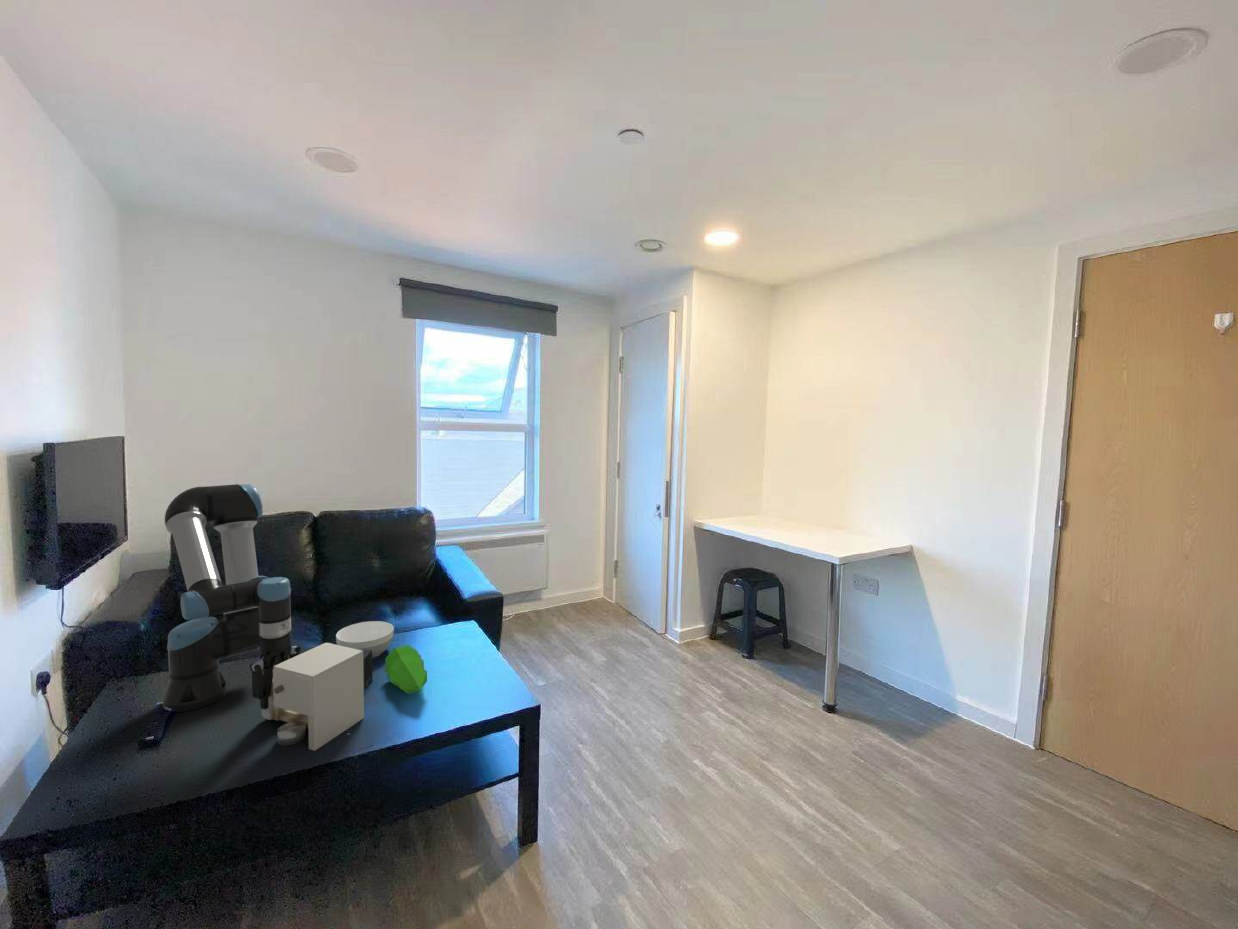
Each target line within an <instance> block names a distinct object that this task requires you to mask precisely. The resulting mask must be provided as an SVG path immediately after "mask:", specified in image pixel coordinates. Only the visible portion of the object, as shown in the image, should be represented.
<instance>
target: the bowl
mask: <svg viewBox="0 0 1238 929" xmlns="http://www.w3.org/2000/svg"><path fill="white" fill-rule="evenodd" d="M393 637H394V626H393V624H392V623H389V622H386V621H379V620H378V621H377V620H376V621H375V620H374V621H373V620H371V621H361V622H358V623H357V622H356V623H354V624H349V625H348V626H345V627H342V628H341V629H339V630H338V631H337V633H336V634H335V641H336V645H339V646H344V647H348V648H353V649H357V650H372V658H374V657H376V656H378V657H380V656H381V655H380V654H382V653H384V652H385V651H386V650H387V649H388V647H389V646H390V644H391V643H392V641H393ZM376 658H377V657H376ZM374 659H375V658H374Z"/></svg>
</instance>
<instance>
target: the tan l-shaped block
mask: <svg viewBox="0 0 1238 929" xmlns="http://www.w3.org/2000/svg"><path fill="white" fill-rule="evenodd" d="M270 696H272V706H273V719H272V720H274V721H283V722H286V723H290V722H296V721H301V722H304V723H305V724H306V729H308V716H307V715H303V714H300V713H296V712H293V711H290V710H286V709H283V708H279V707H276V706H274V693H273V680H272V685H271V690H270ZM261 717H263V709H261Z"/></svg>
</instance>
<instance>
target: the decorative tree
mask: <svg viewBox="0 0 1238 929" xmlns="http://www.w3.org/2000/svg"><path fill="white" fill-rule="evenodd" d="M384 660H385V662H384V665H385V666H384V668H385V670H384V671H385V673H387V677H388V678H389V682H390V683H392V684H393V685H394V686H396V687H397V688H398V689H400V690H402V691H403V692H405V693H406V694H408V695H410V694H413V693H414V694H415V693H418V692H420V691H422V690H421V689H422V688H423V687H424V686H425V684H427V683H428V671H427V670H426V669H425V664H424V662H425V661H424V659H422V655H420V654H419V651H418V650H417V649H415V648H413V646H411V645H410V644H408V645H402V646H397V647H394V649H392V651H391V652H390V653H389V654H388V655H387V656H386V657H385V659H384Z"/></svg>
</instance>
